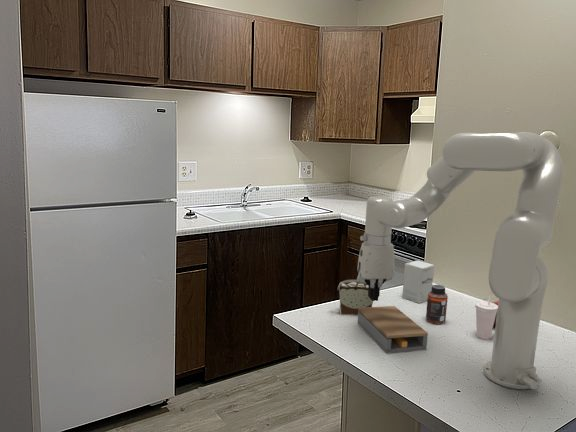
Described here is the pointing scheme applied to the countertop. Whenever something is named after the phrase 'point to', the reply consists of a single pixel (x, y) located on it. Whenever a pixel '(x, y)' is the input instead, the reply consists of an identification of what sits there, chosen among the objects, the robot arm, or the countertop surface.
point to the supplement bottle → (436, 305)
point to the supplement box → (417, 281)
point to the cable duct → (391, 343)
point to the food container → (353, 297)
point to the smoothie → (485, 317)
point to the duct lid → (392, 322)
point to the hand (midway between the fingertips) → (373, 299)
